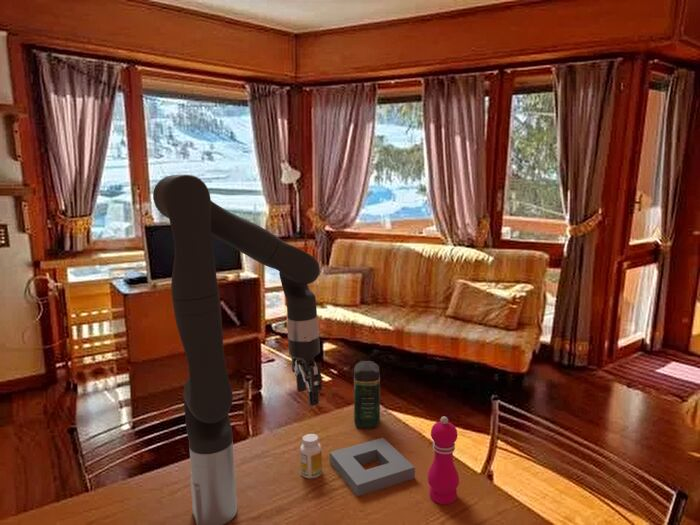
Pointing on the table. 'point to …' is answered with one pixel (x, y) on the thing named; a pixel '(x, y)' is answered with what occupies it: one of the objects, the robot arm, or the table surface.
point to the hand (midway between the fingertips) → (307, 397)
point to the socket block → (375, 478)
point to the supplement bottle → (310, 456)
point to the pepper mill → (443, 463)
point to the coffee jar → (366, 394)
